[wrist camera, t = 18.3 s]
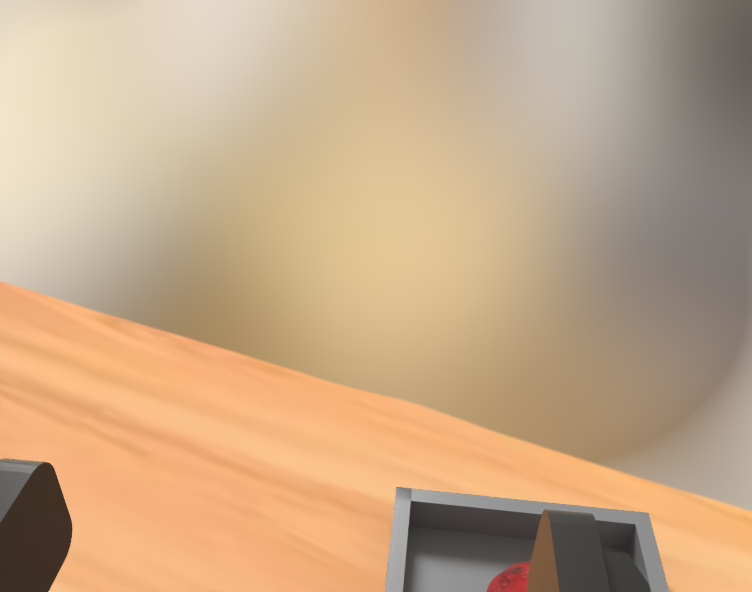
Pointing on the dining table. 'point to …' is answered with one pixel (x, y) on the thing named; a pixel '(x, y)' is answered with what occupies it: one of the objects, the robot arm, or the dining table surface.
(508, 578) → the onion
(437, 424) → the dining table surface
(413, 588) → the tray
